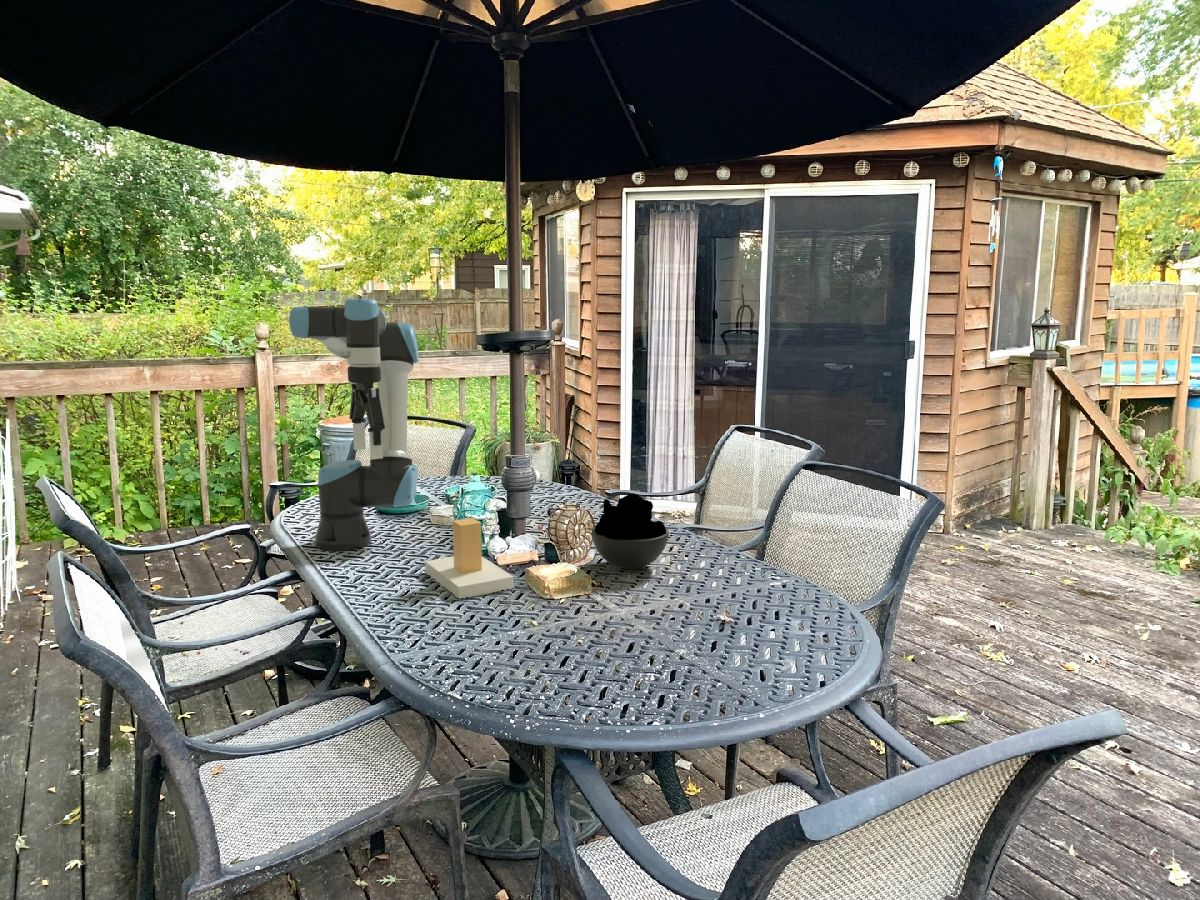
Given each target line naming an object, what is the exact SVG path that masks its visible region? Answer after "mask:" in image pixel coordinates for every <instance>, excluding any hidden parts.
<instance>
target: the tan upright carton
mask: <svg viewBox="0 0 1200 900" xmlns="http://www.w3.org/2000/svg"><path fill="white" fill-rule="evenodd" d="M452 543H453V548H452V549H453V551H452V552H453V557H454V568H455V569H457V570H458V571H459V572H461V573H468V572H473V571H479V570H482V557H483V556H482V555H483V554H482V552H483V551H482V522H481V521H479V520H476V519H475V518H473V517H469V518H462V519H455V520H452Z"/></svg>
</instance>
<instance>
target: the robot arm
mask: <svg viewBox="0 0 1200 900" xmlns="http://www.w3.org/2000/svg"><path fill="white" fill-rule="evenodd" d="M288 318H289V319H288V320H289V329H290V332H291V335H292V336H293V337H295V338H297V339H298V338H301V339H313V340H316V341H317V342H319V343H321V344H323V345H324V346H325V347H326V349H327V350H328V351H329V352H330V353H331V354H333V355H335V356H337V357H340V358H341V359H344V360H345V359H346V360H347V364H348V365H349V366H348V367H347V381H348V382H349V383H351V397H350V408H349V409H350V410H349V420H351V422H352V436H353V437H352V438H353V450H354V451H362V450H367V449H366V448H367V445H366V427H365V426H366V425H365V423H366V422H367V421H368V425H369V427H368V429H367V432H368V434H369V435H368V437H369V438H368V439H369V459H370V460H369V465H363V464H362V461H361V460H359V459H349V460H348V459H347V460H340V461H336V462H331V463H328V464H326V465H323V466H322V467H321V468H320V469H318V470H319V471H318V476H317V477H318V481H317V486H318V497H319V498H318V499H319V500H318V501H319V513H320V514H319V515H320V517H319V518H320V520H319V523H318V526H317V530H316V532H315V533H316V534H315V537H314V543H315V547H316V548H317V549H320V550H324V551H333V552H334V551H335V552H336V551H337V552H340V551H341V552H342V551H350V550H351V551H352V550H355V549H360V548H364V547H366V546H368V545H370V544H371V543H372V534H371V530H370V527H369V526H368V523H367V521H366V519H365V516H364V508H383V507H385V508H386V507H387V508H388V507H389V508H391V507H392V508H393V507H394V508H397V507H399V508H400V507H408V506H410V505H411V504H412V503H413V502H414V500H415V496H416V491H417V486H418V485H417V484H418V475H419V474H418V473H419V471H418V466H417V465H415V464H413V458H412V457H411V456H410V455H409V454H408V399H409V398H408V394H409V393H408V392H409V391H408V388H409V387H408V385H409V384H408V382H409V380H408V377H409V373H410V372H412V371H413V370H414V364H416V363H418V362H419V361H420V360H419V359H420V357H419V349H418V342H417V341H418V340H417V336H416V335H417V334H416V331H415V328H414V325H412V324H411V323H409V322H398V321H396V322H395V321H394V322H389V321H387V318H386V316H385V313H383V311H381V310H380V309H379V305H378V301H377V300H376V299H374V298H347V299H346V300H345V301H344V306H307V305H304V306H293V307H292V308H291V309H290V312H289V317H288ZM374 383H376V385H377V386H376V387H375V386H374ZM365 414H366V416H367V417H366V418H367V421H366V418H365Z"/></svg>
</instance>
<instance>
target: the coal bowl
mask: <svg viewBox="0 0 1200 900" xmlns="http://www.w3.org/2000/svg"><path fill="white" fill-rule="evenodd" d="M602 505H603V511H602V512H603V514H601V516H600V518H599V520H598V522H597V523H596V524H595V525H594V526H593V527H594V529H593V530H592V529H591V531H592V532H591V538H592V542H593V545H594V547H595V548H596V549H595V550H596V551H597V553H599V555H600V556H601V557H602V558H603V559H604V560H605V561H606V562H608V563H609V564H610V565H612V566H615V567H617V568H619V569H620V568H621V569H623V570H624V569H625V570H636V569H640V568H643V567H646V566H648V565H651V564H652V563H653V562H655V561H656V560H657V559H658V558H659V557H660V556H661V555H662V553H663V551H664V550H665V549H666V546H667V544H668V540H669V535H670V531H669V529H668V527H666V525H665V524H664V522H662V521H661V520H657V521H653V520H652V518H653V512H652V511H653V508H654V503H653V502H652V501H651V500H648V499H645V498H643V497H642V496H641V495H639V494H636V493H628V494H627V495H625V496H623V497H620V498H618V503H617V504H616V505H613V504H611V501H610V499H608V498H604V499H603V503H602Z"/></svg>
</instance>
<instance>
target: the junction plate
mask: <svg viewBox="0 0 1200 900" xmlns="http://www.w3.org/2000/svg"><path fill="white" fill-rule="evenodd" d="M424 564H425V567H424V568H425V573H426V574H427V575H428V576H429V575H430V576H431V577H430V576H429V577H430V578H432V579H433V580H434V579H435V580H434V581H435V582H436V583H438V582H439V583H440V584H439V583H438V584H439V585H441V586H442V587H443V586H444V587H445V589H446V590H447V589H448V590H449V591H450V592H449V591H448V590H447V591H448V592H449V593H451V592H452V593H453V594H454V595H455V596H454V595H453V594H452V593H451V594H452V595H453V596H454V597H455V598H457V599H458V598H459V599H458V600H460V599H461V598H463V599H467V598H466V597H468V598H472V596H473V597H477V596H478V597H479V596H482V595H488V594H493V592H494V593H498V592H497V591H499V592H502V591H501V590H504V591H508V590H507V589H509V590H513V589H512V588H514V586H515V585H514V584H515V583H514V576H513V575H512V574H510V573H509V572H507V571H506V570H504V569H503V568H501V567H500V566H498V565H496V564H494V563H493V562H492V561H490V560H488V559H487V558H485V557H484V556H482V570H479V571H473V572H468V573H461V572H459V571H458V570H457V569H455V568H454V556H448V557H442V558H438V559H436V558H435V559H431V560H425V563H424ZM444 587H443V588H444ZM461 600H462V599H461Z"/></svg>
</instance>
